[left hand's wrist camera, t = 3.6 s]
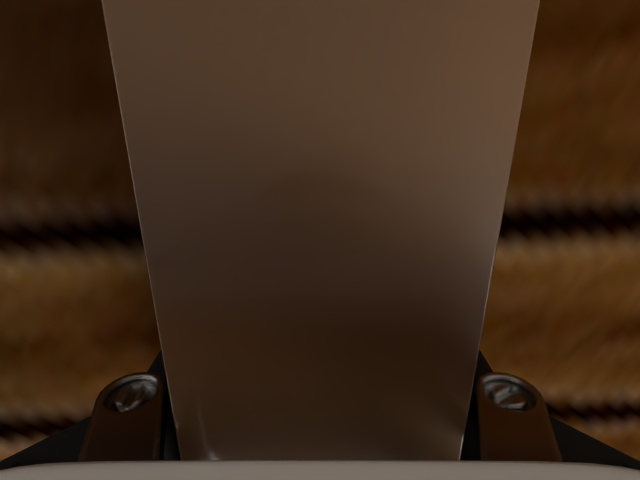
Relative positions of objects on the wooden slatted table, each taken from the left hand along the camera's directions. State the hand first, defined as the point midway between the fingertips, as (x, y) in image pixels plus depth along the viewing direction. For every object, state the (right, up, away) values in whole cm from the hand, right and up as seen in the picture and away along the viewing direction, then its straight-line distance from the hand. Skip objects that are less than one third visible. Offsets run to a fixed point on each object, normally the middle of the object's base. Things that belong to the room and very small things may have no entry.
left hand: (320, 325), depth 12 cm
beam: (0, +21, -5) cm, 22 cm away
